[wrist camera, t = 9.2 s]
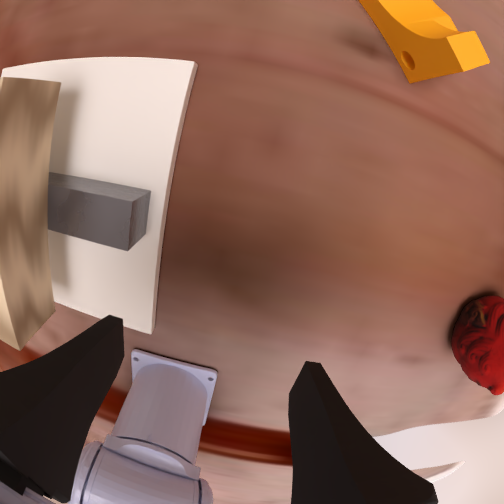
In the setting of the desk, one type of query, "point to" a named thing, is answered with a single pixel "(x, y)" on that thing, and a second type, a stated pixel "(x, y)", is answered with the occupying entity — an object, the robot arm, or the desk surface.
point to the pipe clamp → (425, 38)
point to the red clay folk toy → (481, 342)
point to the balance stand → (111, 178)
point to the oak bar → (25, 206)
